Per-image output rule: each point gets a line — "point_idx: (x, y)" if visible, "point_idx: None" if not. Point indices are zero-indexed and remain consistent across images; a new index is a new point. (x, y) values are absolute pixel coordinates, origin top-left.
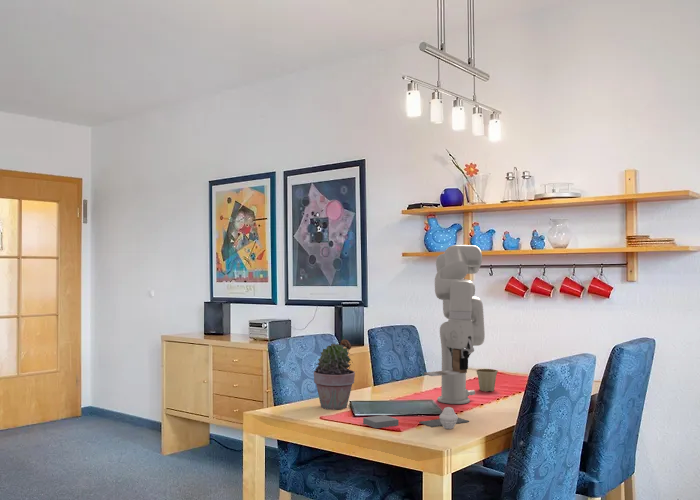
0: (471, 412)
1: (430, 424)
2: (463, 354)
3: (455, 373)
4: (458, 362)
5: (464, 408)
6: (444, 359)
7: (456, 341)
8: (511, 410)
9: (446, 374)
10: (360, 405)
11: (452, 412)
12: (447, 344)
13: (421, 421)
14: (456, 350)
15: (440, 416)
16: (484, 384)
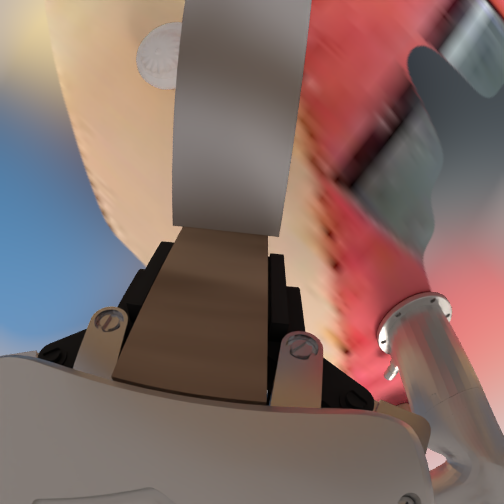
0: (303, 275)
1: None
2: (85, 340)
3: (176, 179)
4: (168, 270)
5: (350, 294)
6: (475, 396)
7: (59, 486)
8: None
9: (179, 83)
10: None
11: (141, 56)
12: (374, 443)
13: None
14: (175, 381)
15: (179, 22)
16: None
